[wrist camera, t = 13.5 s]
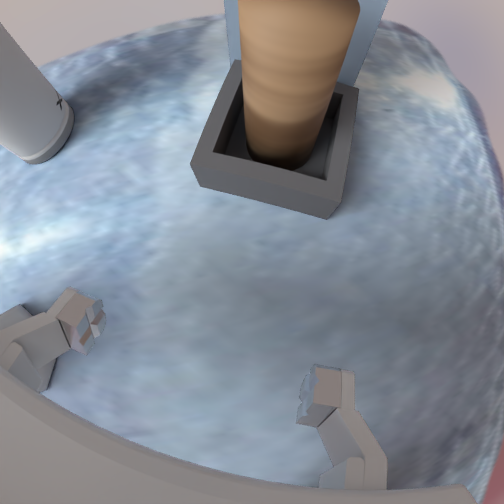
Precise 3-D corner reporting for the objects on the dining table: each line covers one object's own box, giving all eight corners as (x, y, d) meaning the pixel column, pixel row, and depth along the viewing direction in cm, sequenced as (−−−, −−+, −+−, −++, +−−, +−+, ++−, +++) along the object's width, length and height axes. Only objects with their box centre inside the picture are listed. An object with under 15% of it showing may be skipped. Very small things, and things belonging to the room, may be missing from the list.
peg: (305, 180, 19) (357, 42, 8) (237, 163, 20) (219, 15, 8) (317, 125, 20) (362, -14, 8) (256, 110, 20) (255, -35, 8)
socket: (326, 219, 19) (340, 202, 16) (200, 186, 20) (190, 164, 16) (346, 116, 21) (359, 88, 17) (237, 89, 21) (234, 59, 18)
